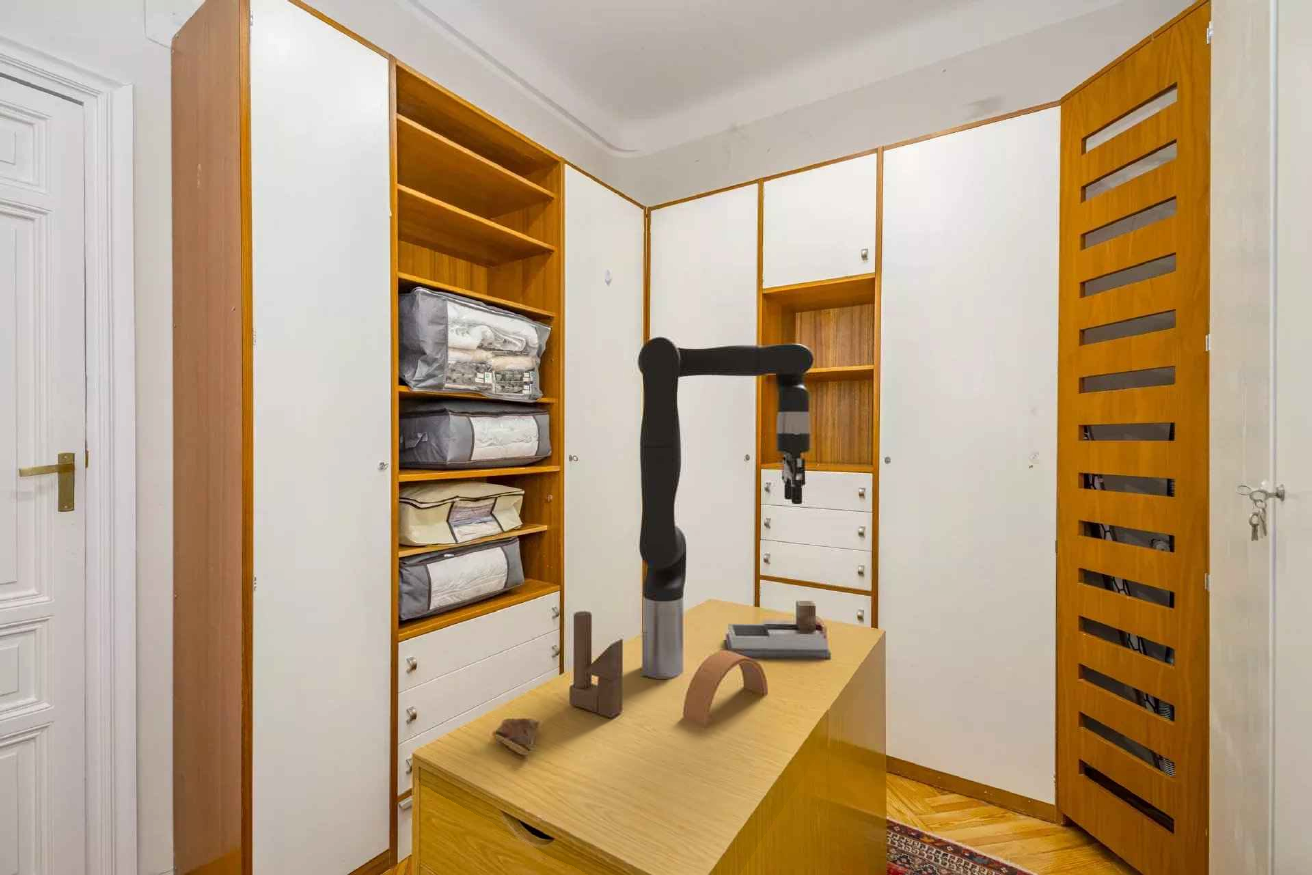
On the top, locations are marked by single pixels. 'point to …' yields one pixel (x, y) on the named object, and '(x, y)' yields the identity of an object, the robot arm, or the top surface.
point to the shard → (517, 734)
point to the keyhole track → (778, 640)
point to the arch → (710, 679)
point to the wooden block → (595, 671)
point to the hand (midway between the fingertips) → (792, 501)
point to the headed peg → (805, 615)
